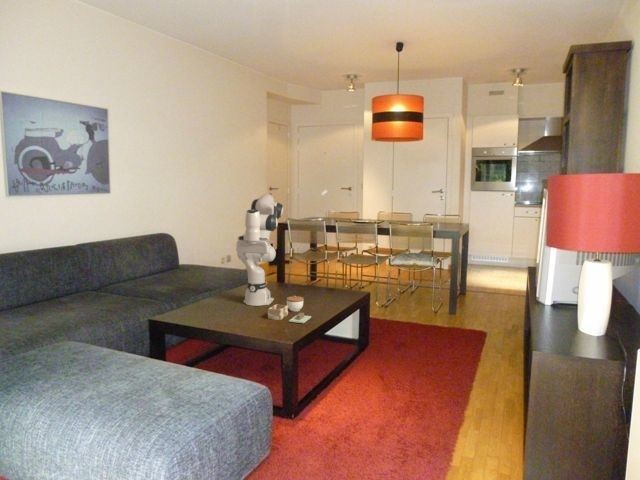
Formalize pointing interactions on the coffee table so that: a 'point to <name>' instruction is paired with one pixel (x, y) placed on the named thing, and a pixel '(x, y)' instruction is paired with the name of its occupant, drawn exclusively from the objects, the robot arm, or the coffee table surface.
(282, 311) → the box
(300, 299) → the lidded jar
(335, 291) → the coffee table surface
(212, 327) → the coffee table surface
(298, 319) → the lid
